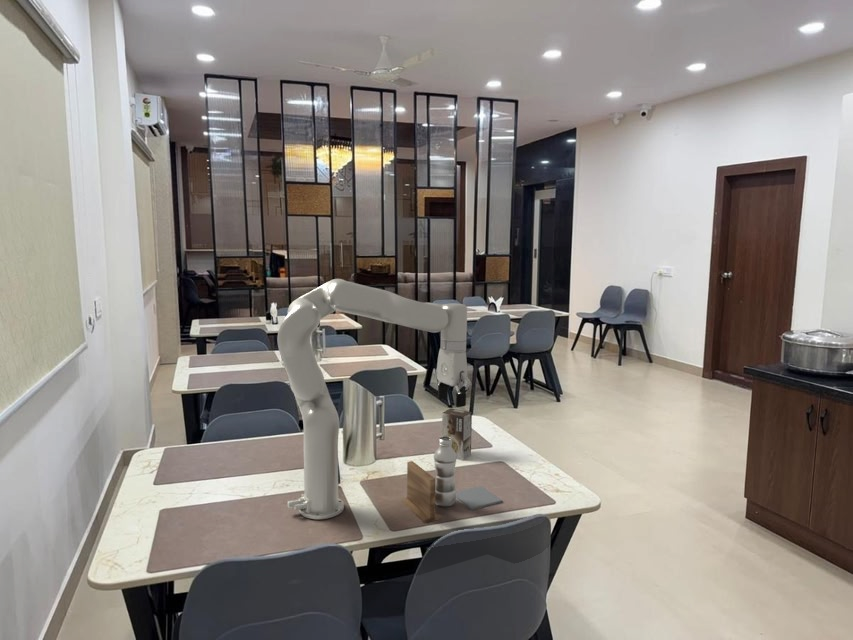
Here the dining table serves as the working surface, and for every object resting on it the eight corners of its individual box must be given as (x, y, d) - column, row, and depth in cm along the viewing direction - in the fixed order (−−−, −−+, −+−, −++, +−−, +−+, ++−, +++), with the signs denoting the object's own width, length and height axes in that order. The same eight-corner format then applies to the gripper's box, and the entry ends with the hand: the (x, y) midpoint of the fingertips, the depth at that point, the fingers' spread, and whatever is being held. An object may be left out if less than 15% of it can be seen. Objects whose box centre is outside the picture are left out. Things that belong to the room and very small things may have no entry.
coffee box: (471, 455, 202) (472, 411, 200) (463, 460, 197) (464, 416, 195) (449, 449, 207) (450, 407, 205) (440, 455, 202) (441, 411, 200)
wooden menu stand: (424, 522, 153) (424, 481, 151) (401, 501, 165) (402, 462, 164) (440, 518, 155) (440, 477, 154) (416, 498, 168) (417, 460, 166)
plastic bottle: (454, 510, 160) (455, 443, 158) (431, 507, 162) (432, 441, 159) (457, 500, 167) (459, 435, 164) (435, 498, 168) (436, 434, 165)
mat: (470, 509, 161) (470, 507, 161) (451, 494, 170) (451, 492, 170) (502, 502, 166) (502, 500, 166) (481, 487, 176) (481, 485, 176)
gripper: (427, 341, 170) (425, 396, 172) (459, 351, 155) (457, 411, 158) (448, 340, 174) (446, 393, 176) (481, 349, 159) (478, 408, 161)
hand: (451, 402), depth 167 cm, fingers open, 9 cm apart
